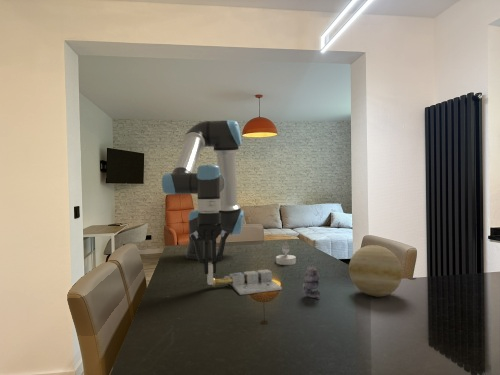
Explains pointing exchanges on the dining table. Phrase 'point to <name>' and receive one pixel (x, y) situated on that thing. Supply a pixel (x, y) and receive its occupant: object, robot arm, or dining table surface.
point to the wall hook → (285, 256)
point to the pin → (224, 281)
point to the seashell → (311, 282)
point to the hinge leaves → (253, 282)
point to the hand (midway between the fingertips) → (210, 283)
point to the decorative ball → (375, 270)
